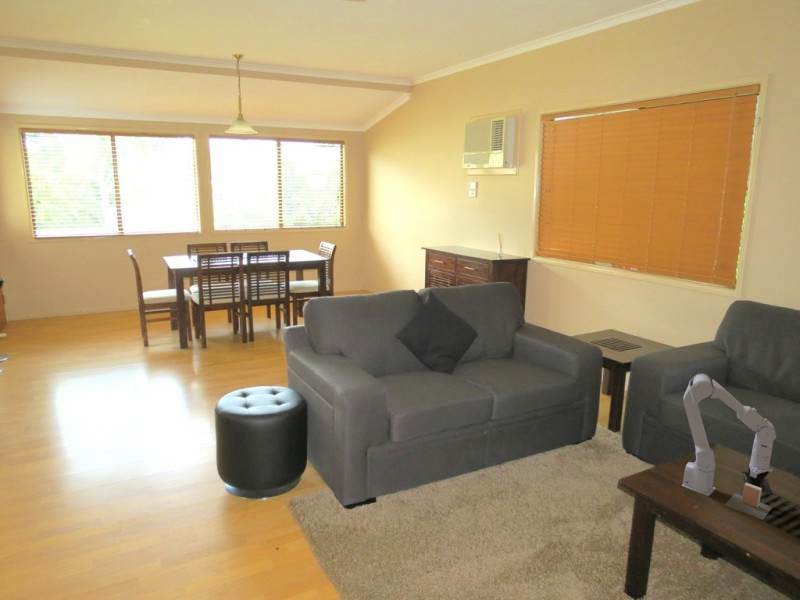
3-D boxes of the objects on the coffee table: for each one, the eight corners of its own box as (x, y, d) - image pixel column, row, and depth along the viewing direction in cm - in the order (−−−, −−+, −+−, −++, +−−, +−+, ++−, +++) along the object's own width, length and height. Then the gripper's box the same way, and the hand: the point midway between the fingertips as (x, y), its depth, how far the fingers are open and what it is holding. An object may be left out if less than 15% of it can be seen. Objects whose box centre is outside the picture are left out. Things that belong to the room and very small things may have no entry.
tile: (741, 502, 202) (744, 484, 201) (743, 500, 203) (746, 482, 202) (757, 508, 199) (760, 490, 197) (758, 505, 200) (761, 488, 198)
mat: (724, 506, 200) (724, 505, 200) (735, 494, 208) (735, 493, 208) (762, 520, 191) (762, 519, 191) (772, 507, 200) (772, 506, 200)
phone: (748, 488, 211) (741, 470, 224) (747, 491, 211) (741, 473, 224) (772, 493, 208) (764, 475, 221) (771, 496, 208) (763, 477, 221)
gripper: (768, 464, 192) (762, 500, 195) (779, 452, 202) (773, 486, 205) (745, 457, 197) (739, 492, 200) (757, 445, 207) (751, 478, 210)
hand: (755, 488), depth 203 cm, fingers closed
